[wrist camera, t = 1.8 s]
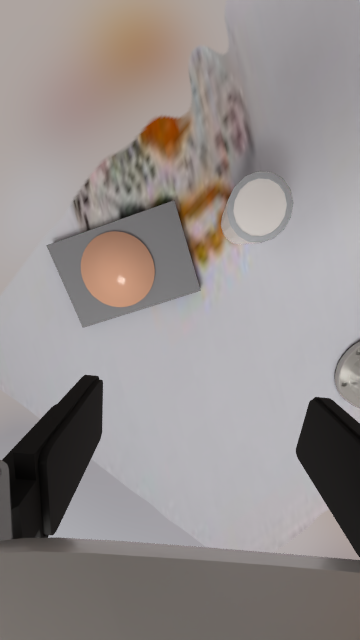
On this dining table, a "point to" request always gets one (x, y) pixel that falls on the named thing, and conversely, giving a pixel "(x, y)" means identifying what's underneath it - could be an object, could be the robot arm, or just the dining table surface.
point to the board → (164, 246)
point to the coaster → (117, 269)
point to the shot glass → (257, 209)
